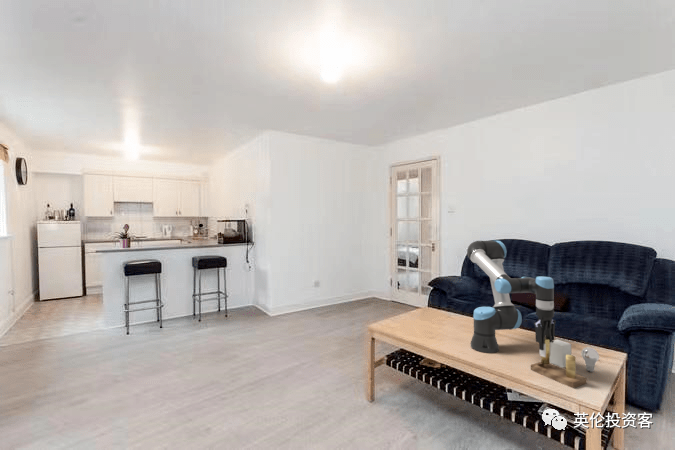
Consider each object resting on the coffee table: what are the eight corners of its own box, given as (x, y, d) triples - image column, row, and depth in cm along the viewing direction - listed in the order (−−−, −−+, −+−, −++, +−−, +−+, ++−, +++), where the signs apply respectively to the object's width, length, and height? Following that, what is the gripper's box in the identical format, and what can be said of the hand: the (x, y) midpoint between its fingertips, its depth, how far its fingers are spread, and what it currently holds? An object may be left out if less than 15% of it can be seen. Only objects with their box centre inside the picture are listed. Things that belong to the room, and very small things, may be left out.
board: (530, 369, 164) (530, 346, 164) (543, 365, 168) (543, 342, 168) (573, 388, 146) (573, 361, 146) (586, 383, 150) (586, 357, 150)
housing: (548, 362, 172) (548, 341, 172) (557, 359, 175) (557, 339, 175) (562, 367, 166) (562, 346, 166) (571, 365, 169) (571, 343, 168)
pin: (539, 362, 163) (539, 338, 163) (544, 360, 165) (543, 337, 164) (546, 365, 160) (546, 340, 160) (551, 363, 161) (551, 339, 161)
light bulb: (591, 368, 165) (591, 344, 165) (602, 374, 158) (602, 350, 158) (577, 368, 165) (577, 345, 164) (588, 375, 158) (588, 350, 157)
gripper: (541, 312, 155) (542, 361, 155) (563, 308, 162) (563, 355, 162) (526, 308, 162) (527, 355, 162) (547, 304, 169) (548, 349, 169)
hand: (545, 355), depth 162 cm, fingers closed on pin, 3 cm apart
